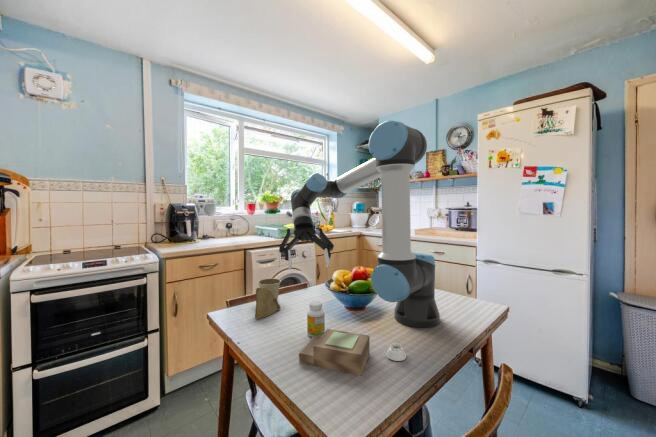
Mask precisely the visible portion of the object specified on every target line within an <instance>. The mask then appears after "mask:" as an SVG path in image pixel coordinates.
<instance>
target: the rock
mask: <svg viewBox="0 0 656 437" xmlns="http://www.w3.org/2000/svg"><path fill="white" fill-rule="evenodd" d="M254 309H255V311H254V317H255V319H256V321H257V320H260V319H262V318H266V317H269V316H271V315H272V314H274V313H276V312H277V311H279V310H281V306H280V304H279V302H278V300H277V299H276V298H275V297H274V296H273V294H272V293H271V291H269V290H267V289H265V288H260V287H257V288H256V290H255V308H254Z"/></svg>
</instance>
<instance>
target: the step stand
mask: <svg viewBox="0 0 656 437" xmlns="http://www.w3.org/2000/svg"><path fill="white" fill-rule="evenodd" d="M369 356H370V335H368V334H362V333H355V332H349V331H344V330H336V329H330V328H327V329H325V332H324V334H323V335H322V336H315V335H314V336H313V337H311V339H310V340H308V342H307V343H306V344H305V345H304V347H303V348H302V349H301V350H300V351H299V353H298V363H299V364H304V365H309V366H313V367H318V368H323V369H328V370H333V371H336V372H342V373H346V374H352V375H357V376H361V377H362V374H363V371H364V369H365V366H366V364H367V361H368V358H369Z"/></svg>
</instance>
